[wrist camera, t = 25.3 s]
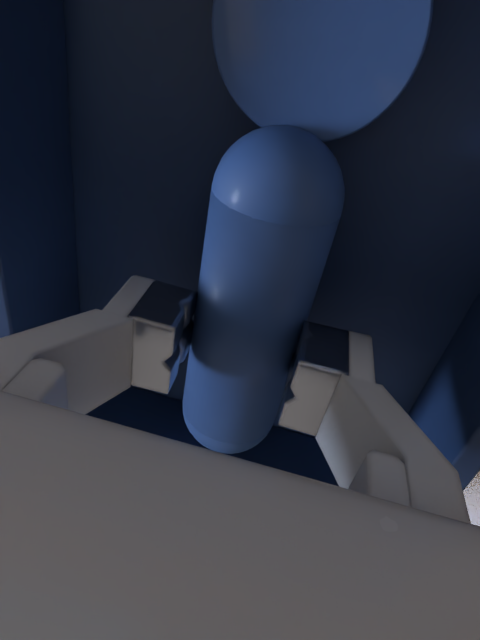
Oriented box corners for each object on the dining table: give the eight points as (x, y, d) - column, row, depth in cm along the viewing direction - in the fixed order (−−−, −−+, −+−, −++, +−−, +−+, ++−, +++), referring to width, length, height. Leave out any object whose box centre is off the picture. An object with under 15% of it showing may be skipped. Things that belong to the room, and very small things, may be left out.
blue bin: (32, -271, 7) (-179, -463, 4) (758, -142, 6) (1090, -272, 4) (75, 371, 15) (13, 451, 13) (393, 459, 15) (403, 565, 12)
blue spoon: (178, 388, 14) (148, 453, 12) (241, -127, 7) (197, -186, 5) (287, 418, 14) (276, 490, 12) (463, -84, 7) (512, -128, 5)
